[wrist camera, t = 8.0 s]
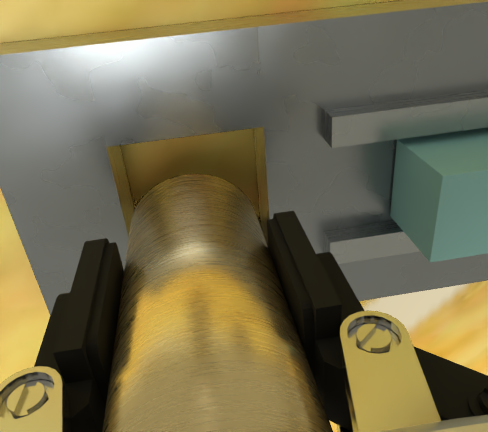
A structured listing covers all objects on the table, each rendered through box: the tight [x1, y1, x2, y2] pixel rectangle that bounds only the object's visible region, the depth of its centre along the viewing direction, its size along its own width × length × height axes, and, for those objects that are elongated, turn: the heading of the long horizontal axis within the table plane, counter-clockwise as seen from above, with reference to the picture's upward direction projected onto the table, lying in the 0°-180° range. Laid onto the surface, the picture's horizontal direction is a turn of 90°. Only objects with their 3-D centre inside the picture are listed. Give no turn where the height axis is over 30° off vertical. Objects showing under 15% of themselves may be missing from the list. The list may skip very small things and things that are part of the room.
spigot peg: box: [103, 174, 333, 432], centre depth 10 cm, size 4×4×10 cm
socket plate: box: [0, 0, 488, 315], centre depth 17 cm, size 23×11×3 cm, turn 95°
